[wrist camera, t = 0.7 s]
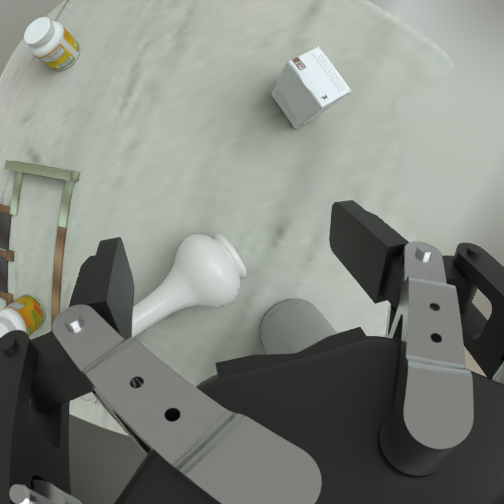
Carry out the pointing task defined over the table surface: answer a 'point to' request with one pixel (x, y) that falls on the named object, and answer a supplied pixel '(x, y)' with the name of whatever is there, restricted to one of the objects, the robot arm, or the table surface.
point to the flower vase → (191, 282)
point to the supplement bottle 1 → (22, 315)
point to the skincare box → (308, 87)
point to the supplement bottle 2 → (51, 44)
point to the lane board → (2, 213)
